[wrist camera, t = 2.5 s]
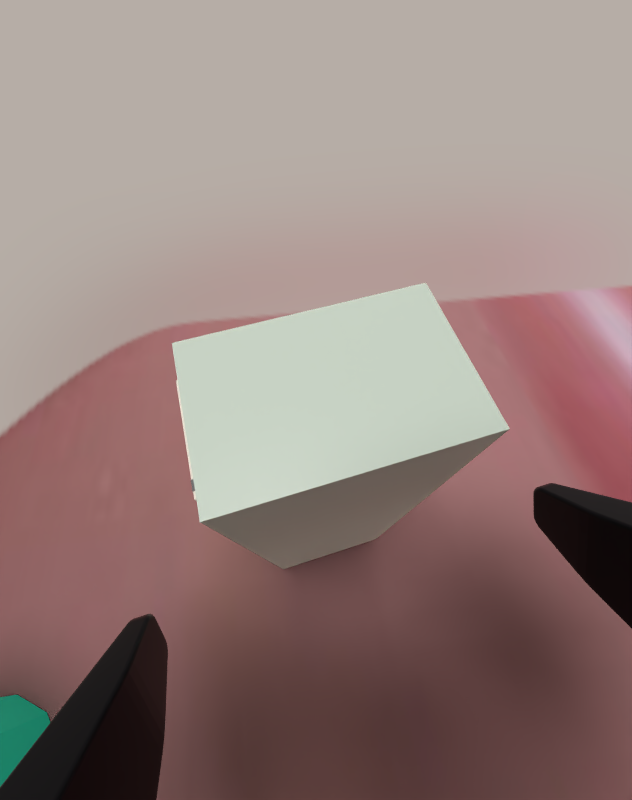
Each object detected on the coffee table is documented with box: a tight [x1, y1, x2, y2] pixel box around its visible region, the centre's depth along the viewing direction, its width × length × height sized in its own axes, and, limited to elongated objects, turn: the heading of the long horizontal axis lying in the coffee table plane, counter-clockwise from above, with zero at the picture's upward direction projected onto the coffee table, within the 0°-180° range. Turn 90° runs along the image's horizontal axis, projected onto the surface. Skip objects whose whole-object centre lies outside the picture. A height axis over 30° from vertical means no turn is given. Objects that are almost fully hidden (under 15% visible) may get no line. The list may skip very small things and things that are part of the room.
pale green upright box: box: [172, 283, 509, 569], centre depth 12 cm, size 3×5×14 cm
